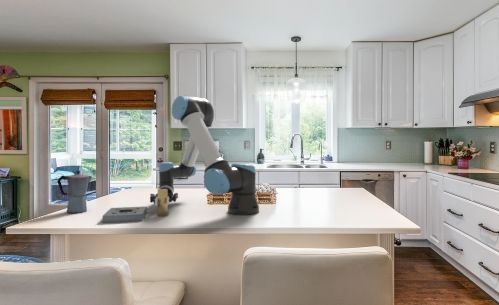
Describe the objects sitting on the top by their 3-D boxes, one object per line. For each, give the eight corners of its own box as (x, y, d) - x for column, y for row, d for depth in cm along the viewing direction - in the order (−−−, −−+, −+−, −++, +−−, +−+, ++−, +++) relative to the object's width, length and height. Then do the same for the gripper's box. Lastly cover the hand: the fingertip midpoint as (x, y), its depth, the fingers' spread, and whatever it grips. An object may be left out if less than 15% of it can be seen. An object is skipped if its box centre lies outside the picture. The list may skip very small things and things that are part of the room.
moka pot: (96, 210, 158) (95, 170, 157) (62, 216, 146) (60, 172, 146) (89, 207, 164) (88, 169, 163) (55, 212, 153) (54, 171, 152)
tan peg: (168, 213, 150) (167, 188, 150) (167, 216, 146) (167, 190, 146) (158, 214, 150) (158, 188, 149) (157, 216, 145) (157, 190, 145)
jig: (146, 212, 153) (146, 206, 153) (142, 220, 137) (142, 214, 137) (111, 214, 150) (111, 207, 150) (102, 222, 134) (102, 215, 134)
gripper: (182, 200, 167) (181, 209, 144) (147, 201, 164) (141, 211, 141) (182, 186, 167) (181, 193, 144) (147, 187, 163) (141, 194, 140)
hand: (161, 202), depth 142 cm, fingers closed on tan peg, 4 cm apart
